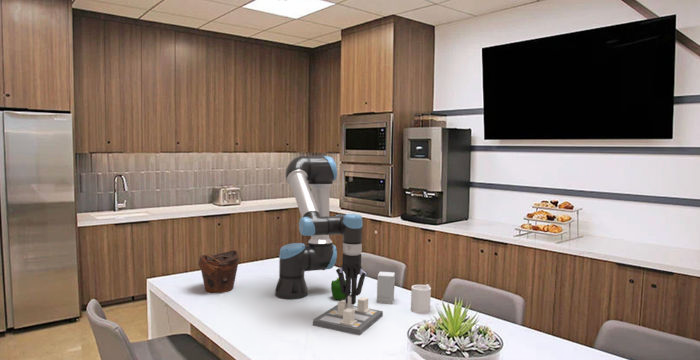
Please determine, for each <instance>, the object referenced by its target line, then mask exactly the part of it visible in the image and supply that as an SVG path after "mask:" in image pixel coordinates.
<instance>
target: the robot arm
mask: <svg viewBox="0 0 700 360" xmlns="http://www.w3.org/2000/svg"><path fill="white" fill-rule="evenodd" d="M337 177H338V168H337V164H336V161H335V160H334V158H333V157H332V156H326V155H299V156H297V157H294V158H293V159H292V160H291V161H290V162H289V163H288V165H287V166H286V170H285V179H286V182H287V184H288V185H289V186H290V188H291V189H292V193H293V195H294V198H295V201H296V204H297V207H298V211H299V213H300V216H301V217H300V219H299V221H298V228H299V229H298V231H299V233H300V235H302V236H306V237H310V239H309V240H308V241H307V245H305V243H303V242H293V243H288V244H285V245H283V246H281V247H280V249H279V256H278V258H279V261H278V262H279V266H278V267H279V270H278V274H279V276H278V280H277V284H276V287H275V291H274V292H275V293H274V294H275V296H276V297H278V298H280V299H285V300H294V299H302V298H305V297H307V296H308V294H309V293H308V292H309V289H308V287H307V283H306V279H305V272H311V271H325V270H332V269H333V268H334V266H335V265H336V262H337V258H338V252H337V247H336V245H335V244H333V241H332V240H331V238H330V236H331V235H332V236H333V235H335V236H336V235H342V259H341V260H342V261H341V263H342V264H341V267H339V268H337V269H336V270H335V271H336V274H337V275H338V277H337V278H339V282H340V287H341V292H342V293H344V294H345V295H346V298H345V300H346V303H348V307H347V308H351V309H354V306H355V304H357V303H356V302H357V296H359V295H361V293H362V290H363V286H364V283H365V278H366V277H367V275H368V272H367V271H364V269H363V267H362V254H361V253H362V251H363V249H362V247H363V246H362V245H363V226H364V225H363V223H364V222H363V216H362V215H361V214H359V213H348V214H347V213H346V214H337V215H333V216H332V215H331V216H330V188H331V187H332V186H333V182H335V181H336V180H337ZM358 275H359V276H360V277H359V279H358ZM345 280H346V284H345Z"/></svg>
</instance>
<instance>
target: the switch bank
mask: <svg viewBox="0 0 700 360" xmlns="http://www.w3.org/2000/svg"><path fill="white" fill-rule="evenodd" d="M357 308H358V305H357V306H356V305H354V309H355V310H356V309H357ZM336 312H338V304H336V305H335V306H333V307H332V308H330V309H328V310H326V311H324V312H323V313H322V314H320V315H319V316H317V317H315V318H314V319H312V326H315V327H320V328H325V329H329V330H334V331H339V332H343V333H348V334H353V335H357V336H361V334H363V333H364V332H365V331H366V330H368V329H369V328H370V327H371V326H372V325H374V324H375V323H376V322H377V321H378V320H380V319H381V318H382V317H383V316H384V313H383V310H378V309H373V308H371V310H370V311H369V312H367V313H366V314H365V313H360V312H355V319H354V320H357V323H355V324H354V325H353V326H349V325H344V324H340V322H341V321H342V320H343V316H338V315H335V313H336Z"/></svg>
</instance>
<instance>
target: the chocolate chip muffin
mask: <svg viewBox="0 0 700 360" xmlns="http://www.w3.org/2000/svg"><path fill="white" fill-rule="evenodd" d="M239 262H240V258H239V253H238V251H237V250H235V249H233V250H229V251H226V252H221V253H217V254H213V255H212V254H202V255H200V256H199V259H198V262H197V265H198V267H199V268H200V271H201V275H202V276H201V277H202V280H203V286H204V291H206V292H207V293H211V294H212V293H213V294H215V293H216V294H219V293H227V292H229V291H232V290H233V289H234V285H235V281H236V276H237V271H238V266H239V264H240V263H239Z"/></svg>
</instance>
